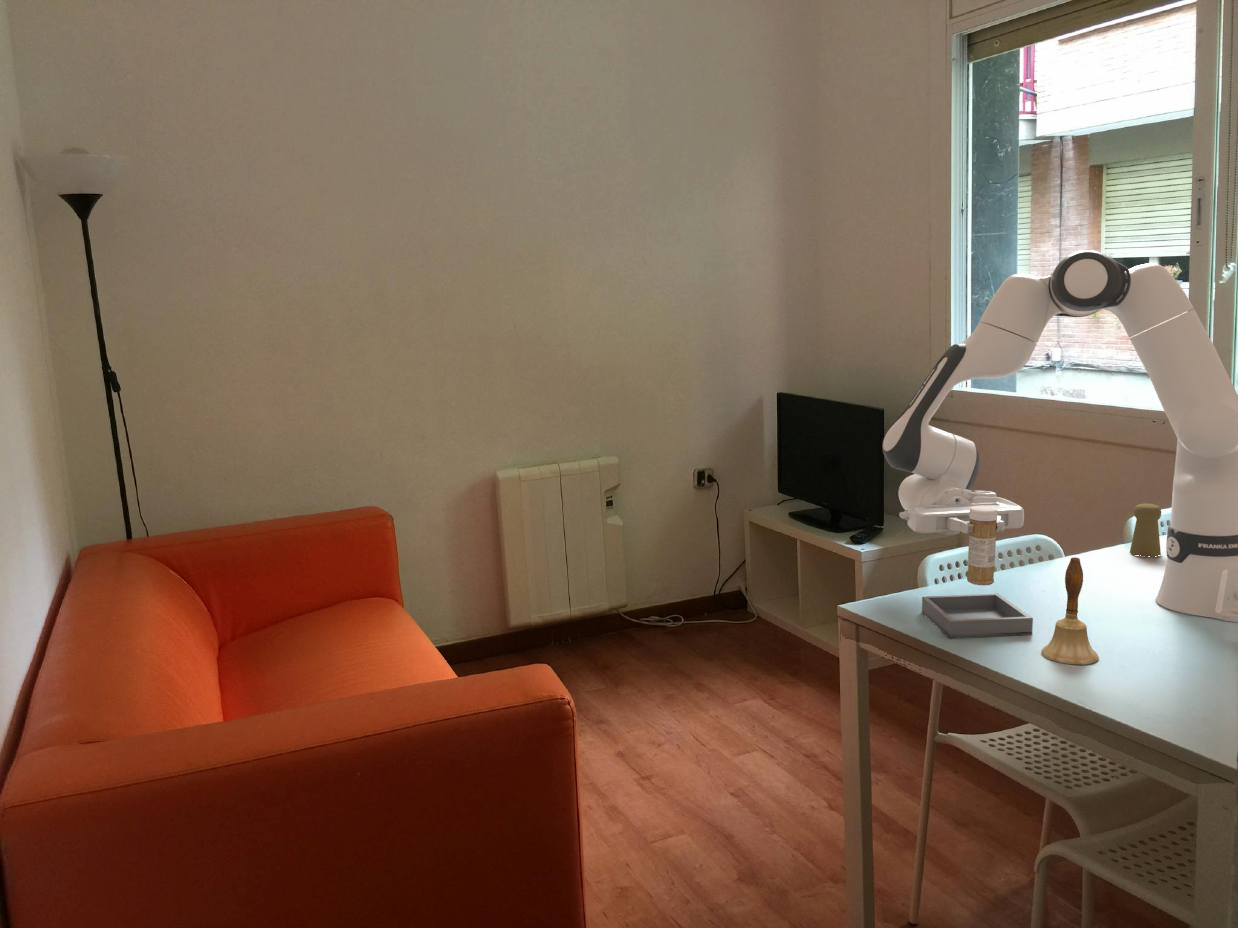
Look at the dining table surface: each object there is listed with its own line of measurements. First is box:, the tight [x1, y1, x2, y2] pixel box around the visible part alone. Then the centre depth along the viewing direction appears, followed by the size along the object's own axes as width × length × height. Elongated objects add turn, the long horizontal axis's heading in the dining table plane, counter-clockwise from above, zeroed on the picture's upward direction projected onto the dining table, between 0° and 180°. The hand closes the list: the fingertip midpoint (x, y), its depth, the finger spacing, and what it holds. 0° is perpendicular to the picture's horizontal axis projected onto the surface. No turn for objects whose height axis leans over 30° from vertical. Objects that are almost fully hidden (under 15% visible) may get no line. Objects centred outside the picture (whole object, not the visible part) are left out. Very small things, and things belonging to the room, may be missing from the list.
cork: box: [1129, 503, 1162, 558], centre depth 211 cm, size 6×6×11 cm
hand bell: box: [1041, 557, 1100, 666], centre depth 154 cm, size 8×8×16 cm
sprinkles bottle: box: [966, 505, 998, 586], centre depth 170 cm, size 5×5×14 cm
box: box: [921, 592, 1034, 640], centre depth 171 cm, size 14×14×3 cm
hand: (985, 527), depth 168 cm, fingers closed on sprinkles bottle, 4 cm apart
